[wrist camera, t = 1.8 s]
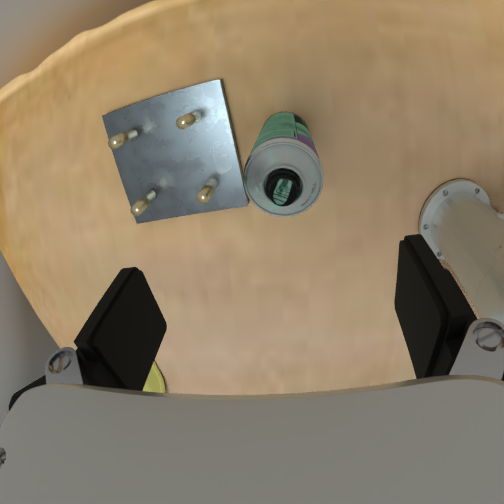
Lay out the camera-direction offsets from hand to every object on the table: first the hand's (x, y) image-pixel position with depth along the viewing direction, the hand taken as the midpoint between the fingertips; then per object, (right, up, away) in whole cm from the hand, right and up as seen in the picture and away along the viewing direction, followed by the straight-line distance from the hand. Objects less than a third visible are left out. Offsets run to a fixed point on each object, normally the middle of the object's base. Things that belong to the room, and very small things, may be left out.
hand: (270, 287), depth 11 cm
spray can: (+3, +15, +25) cm, 29 cm away
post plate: (-10, +14, +27) cm, 32 cm away
